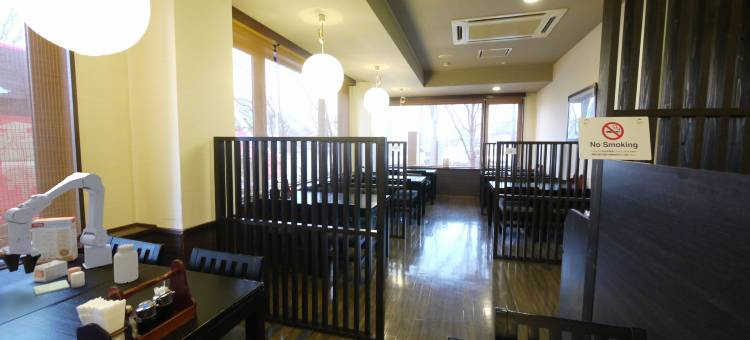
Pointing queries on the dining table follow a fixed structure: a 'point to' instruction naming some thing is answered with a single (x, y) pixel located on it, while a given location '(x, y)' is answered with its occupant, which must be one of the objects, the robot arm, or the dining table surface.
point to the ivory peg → (77, 279)
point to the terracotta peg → (73, 270)
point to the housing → (50, 271)
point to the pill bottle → (125, 264)
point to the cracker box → (55, 239)
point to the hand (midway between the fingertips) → (21, 272)
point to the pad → (51, 287)
